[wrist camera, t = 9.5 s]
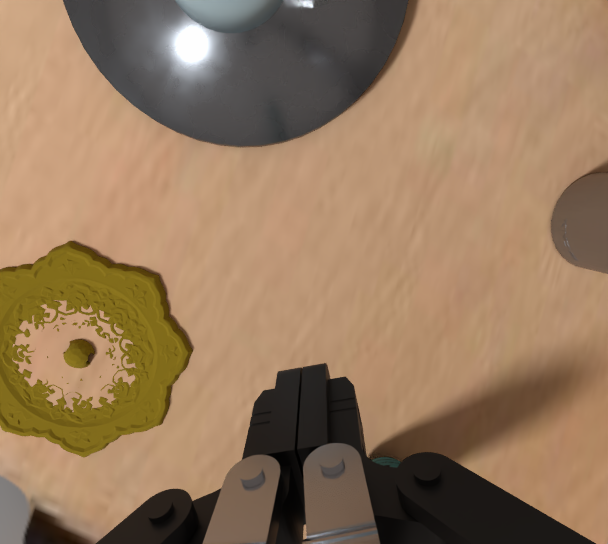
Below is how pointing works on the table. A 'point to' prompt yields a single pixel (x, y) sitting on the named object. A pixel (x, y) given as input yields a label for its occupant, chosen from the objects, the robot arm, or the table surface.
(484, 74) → the table surface
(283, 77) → the turntable
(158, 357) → the decorative medallion
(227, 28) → the cover
